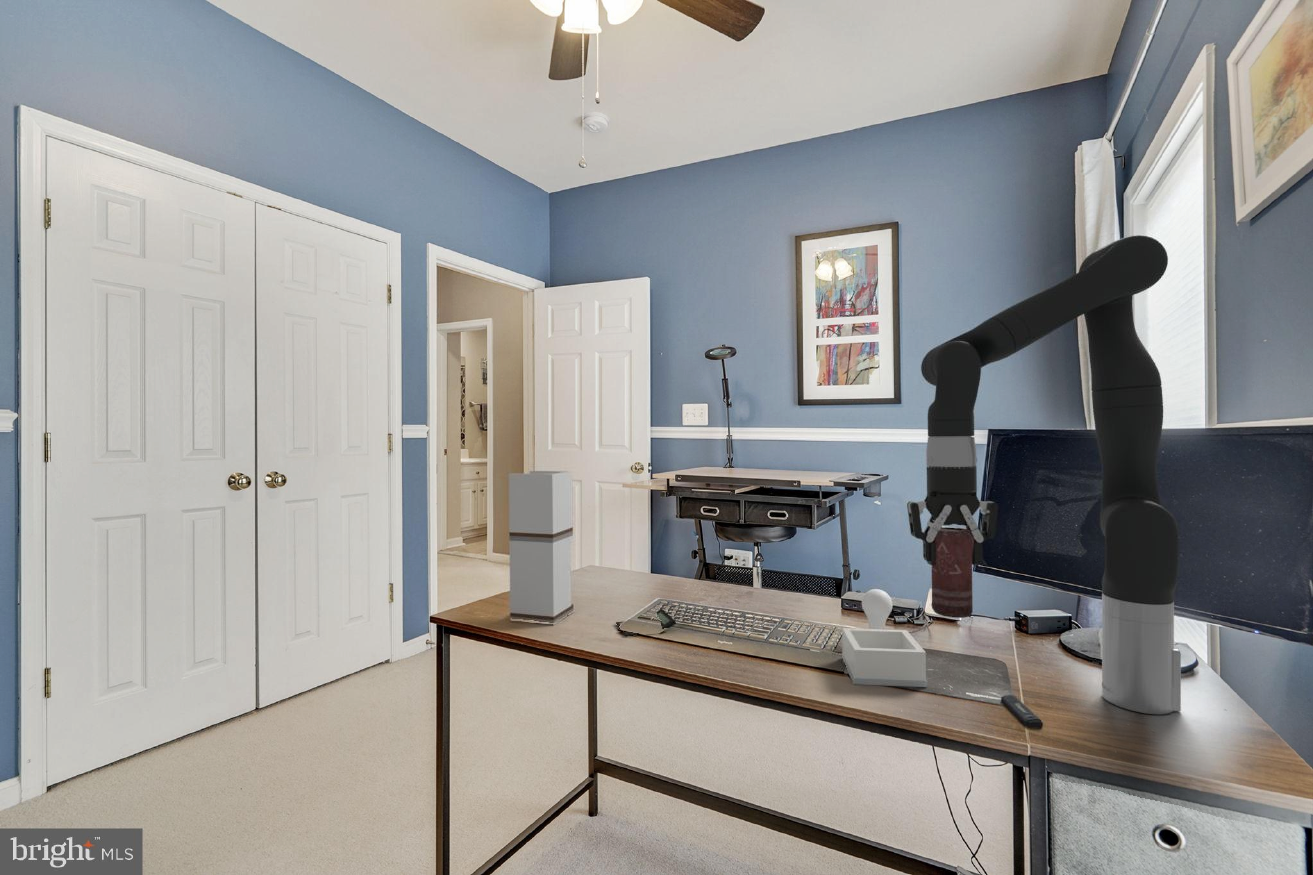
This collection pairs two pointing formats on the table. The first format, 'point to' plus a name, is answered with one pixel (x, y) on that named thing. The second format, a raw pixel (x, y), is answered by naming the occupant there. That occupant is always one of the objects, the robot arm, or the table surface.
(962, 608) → the can
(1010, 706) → the usb stick
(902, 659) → the light grey open box
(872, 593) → the lightbulb
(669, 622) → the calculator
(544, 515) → the banded grey pillar
